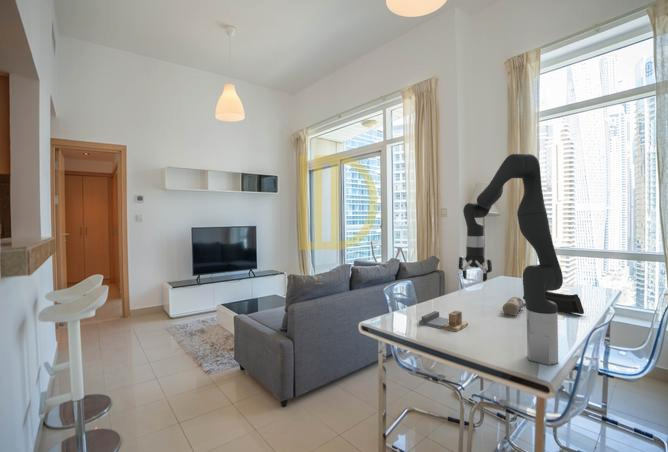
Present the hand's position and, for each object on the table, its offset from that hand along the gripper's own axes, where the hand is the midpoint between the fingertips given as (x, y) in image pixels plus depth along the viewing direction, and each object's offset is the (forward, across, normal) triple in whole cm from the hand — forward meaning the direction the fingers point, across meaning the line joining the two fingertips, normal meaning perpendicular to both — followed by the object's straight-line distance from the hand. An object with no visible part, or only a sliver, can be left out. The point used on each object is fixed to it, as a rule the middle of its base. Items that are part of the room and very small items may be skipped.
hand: (474, 279), depth 151 cm
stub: (+21, -6, -9) cm, 24 cm away
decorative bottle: (+23, +12, +36) cm, 44 cm away
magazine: (+23, +27, +50) cm, 61 cm away
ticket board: (+22, -15, -8) cm, 28 cm away
